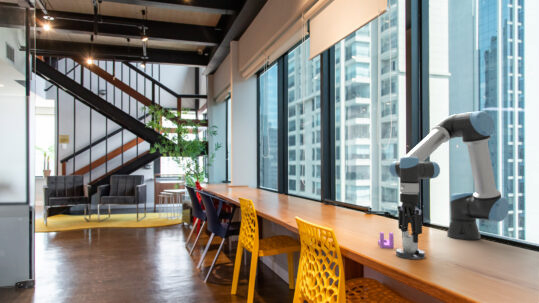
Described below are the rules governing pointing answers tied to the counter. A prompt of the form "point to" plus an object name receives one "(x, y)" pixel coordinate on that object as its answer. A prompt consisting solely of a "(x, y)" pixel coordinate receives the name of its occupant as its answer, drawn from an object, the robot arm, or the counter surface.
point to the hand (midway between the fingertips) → (409, 248)
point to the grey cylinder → (407, 244)
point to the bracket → (386, 241)
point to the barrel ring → (410, 254)
